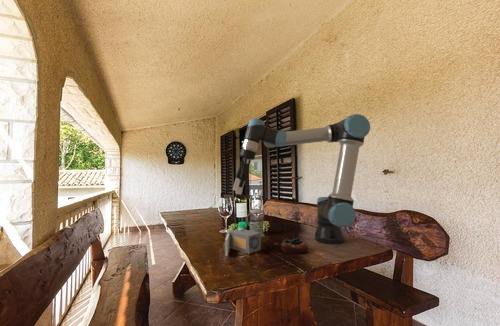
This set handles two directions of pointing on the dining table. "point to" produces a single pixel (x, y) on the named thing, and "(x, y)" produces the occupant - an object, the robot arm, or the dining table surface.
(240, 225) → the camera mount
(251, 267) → the dining table surface
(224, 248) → the side door
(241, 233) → the camera block
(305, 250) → the pastry
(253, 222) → the french press
